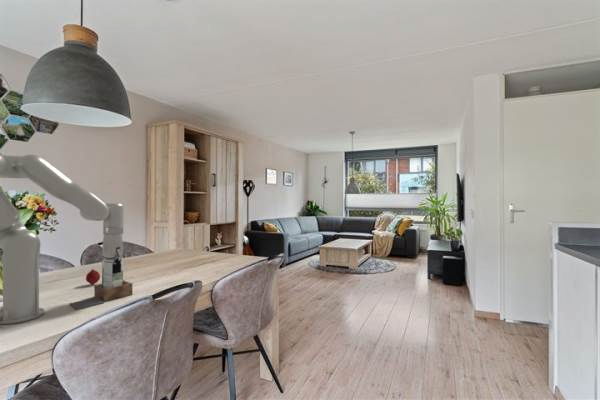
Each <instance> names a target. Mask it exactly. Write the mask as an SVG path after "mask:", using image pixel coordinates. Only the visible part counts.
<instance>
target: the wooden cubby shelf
mask: <svg viewBox="0 0 600 400" xmlns="http://www.w3.org/2000/svg"><path fill="white" fill-rule="evenodd" d="M93 286H94V287H93V288H94V289H93V290H94V295H93V298H97V299H99V300H101V301H103V302H104V303H105V302H109V301H112V300H116V299H122V298H126V297H129V296H133V283H132V282H129V281H127V280H124V279H123V285H121V286H116V287H111V288H107V289H106V288H104V287H102V283H98V284H97V283H96V284H94V285H93Z"/></svg>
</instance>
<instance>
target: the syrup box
mask: <svg viewBox="0 0 600 400" xmlns="http://www.w3.org/2000/svg"><path fill="white" fill-rule="evenodd" d="M115 261H116V259H115ZM101 262H102V265H101V268H102V269H101V270H102V271H101V284H102V287H104V288H106V289H107V288H111V287H116V286H121V285H123V280H124V257H122V260H121V272H120V273H115V274H113V273H112V264H114V263H113V258H109V259H105V258H104V259H102V260H101Z"/></svg>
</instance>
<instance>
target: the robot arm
mask: <svg viewBox="0 0 600 400" xmlns="http://www.w3.org/2000/svg"><path fill="white" fill-rule="evenodd" d="M0 178H2V179H28V180H29V181H32V183H34V184H36V185H37V186H38V187H40V188H41V189H43V190H44V191H45V192H47V193H48V194H49V195H51V196H52V197H54V198H56V199H58V200H60V201H63V202H66V203H68V204H70V205H72V206H74V207H75V208H77V209H78V210H79V214H80V217H82V218H83V219H85V220H87V221H95V222H101V221H103V222H102V226H103V227H102V228H103V229H102V230H103V231H102V233H103V234H102V236H103V240H102V251H101V252H102V253H101V256H102V257H104V259H109V258H113V263H114V264H112V273H113V274H115V273H120V272H121V260H122V258H124V257H123V254H124V249H123V248H124V247H123V244H124V243H123V235H124V209H125V208H124V205H123V204H122V203H120V202H119V203H118V202H115V203H114V202H112V203H110V202H109V203H105V202H103V201H102V200H101V199H100V198H99V197H97V196H96V195H95V194H93V193H92V192H90V191H89V190H88V189H86V188H84V187H83V186H81V185H80V184H79V183H76V182H75V181H74V180H72V179H71V178H69V177H68V176H67V175H66V174H64V173H62V172H61V171H60V169H57V168H56V167H55V166H54V165H53V164H51V163H50V162H48V160H47V159H45V158H44V157H42V156H40V155H37V154H26V155H21V156H20V155H3V154H0ZM0 249H1V250H2V251H3V255H2V306H0V325H9V324H11V325H12V324H17V323H18V324H19V323H22V322H29V321H31V320H34V319H36V318H39V317H41V316H43V315H44V314H45V309H44V308H43V307H40V254H41V253H40V252H41V240H40V237H39V235H37V233H36V232H34V231H32V230H29V229H28V228H27V227H26V226H25V224H24V223H23V221H22V220H21V214H20V212H19V210H18V209H17V208H16V206H14V204H13V203H12V201H10V198H9V197H8V196H7V195H6V193H5V192H4V190H3V188H2V187H1V186H0ZM115 259H116V261H115Z"/></svg>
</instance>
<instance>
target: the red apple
mask: <svg viewBox="0 0 600 400" xmlns="http://www.w3.org/2000/svg"><path fill="white" fill-rule="evenodd" d="M100 279H101V275H100V273H99V272H98V271H97V270H95V269H94V268H91V270H90V271H89V272H88V273H87V274H86V276H85V281H86V282H87V283H89V284H90V285H92V286H94V285H96V284H97V283H98V282H99V281H100Z"/></svg>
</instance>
